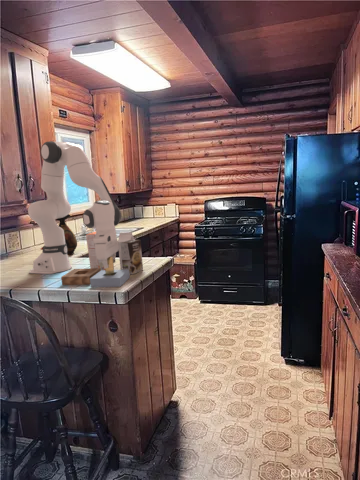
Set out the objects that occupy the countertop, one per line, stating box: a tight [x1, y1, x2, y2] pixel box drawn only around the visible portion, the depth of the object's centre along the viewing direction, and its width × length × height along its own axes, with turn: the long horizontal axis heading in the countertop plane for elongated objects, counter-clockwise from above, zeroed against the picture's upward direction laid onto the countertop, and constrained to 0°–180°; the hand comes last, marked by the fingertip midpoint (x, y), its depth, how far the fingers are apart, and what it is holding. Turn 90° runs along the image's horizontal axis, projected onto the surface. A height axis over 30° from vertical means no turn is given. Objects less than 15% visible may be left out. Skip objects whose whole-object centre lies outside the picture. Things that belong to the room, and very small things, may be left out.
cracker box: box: [85, 230, 105, 270], centre depth 186 cm, size 14×6×21 cm, turn 159°
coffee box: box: [120, 239, 144, 275], centre depth 178 cm, size 9×6×16 cm
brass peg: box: [105, 256, 115, 276], centre depth 163 cm, size 4×4×12 cm
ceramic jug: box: [56, 213, 78, 256], centre depth 232 cm, size 17×15×30 cm
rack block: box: [60, 267, 101, 286], centre depth 170 cm, size 14×14×4 cm
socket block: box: [90, 269, 131, 288], centre depth 164 cm, size 14×14×4 cm
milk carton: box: [117, 232, 136, 270], centre depth 187 cm, size 7×7×19 cm
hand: (109, 265), depth 162 cm, fingers open, 8 cm apart
